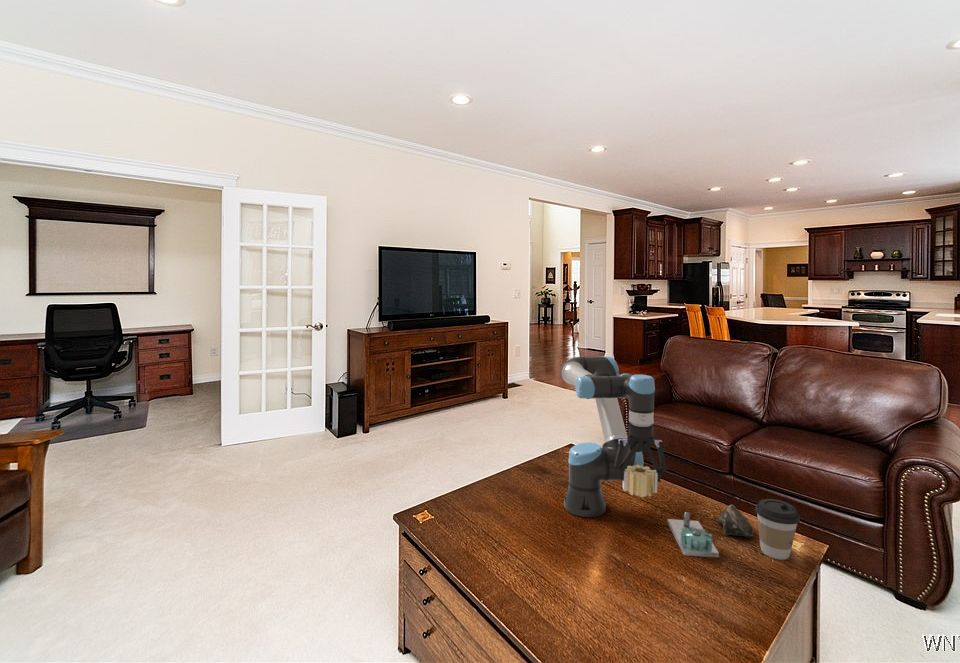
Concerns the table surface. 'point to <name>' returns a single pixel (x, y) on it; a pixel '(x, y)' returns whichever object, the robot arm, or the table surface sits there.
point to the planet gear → (640, 480)
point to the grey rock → (735, 523)
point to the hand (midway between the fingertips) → (639, 490)
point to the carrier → (692, 537)
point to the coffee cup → (776, 527)
